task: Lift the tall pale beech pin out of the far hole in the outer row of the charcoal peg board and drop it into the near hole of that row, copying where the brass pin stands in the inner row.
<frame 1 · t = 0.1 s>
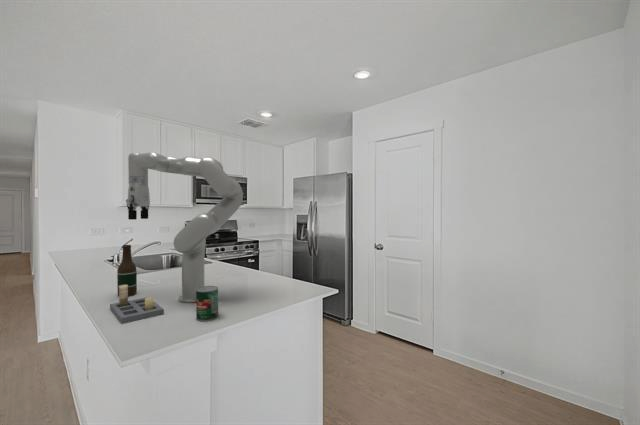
hand: (138, 219, 134), 37 cm above the table, tool pointing down, fingers open, 9 cm apart
peg board: (136, 311, 119), on the table
beech pin: (123, 309, 121), resting in peg board
canned tomato: (207, 317, 113), on the table
beer bottle: (127, 295, 142), on the table
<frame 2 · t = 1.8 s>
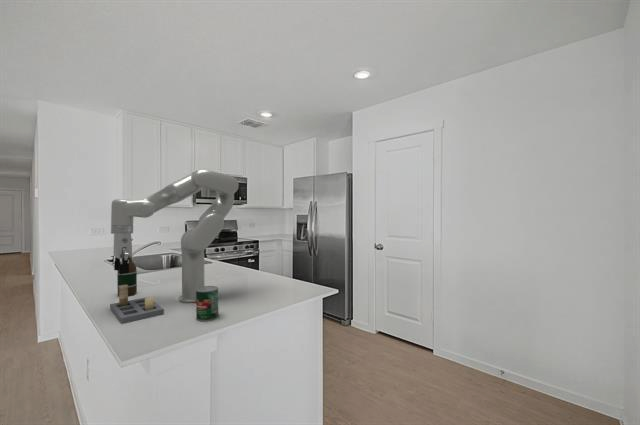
hand: (121, 271, 121), 16 cm above the table, tool pointing down, fingers open, 9 cm apart
nothing on the table moved.
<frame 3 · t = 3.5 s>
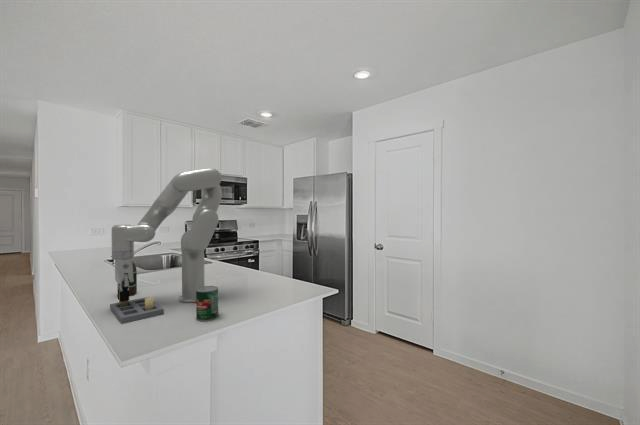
hand: (123, 299, 121), 4 cm above the table, tool pointing down, fingers closed on beech pin, 3 cm apart
beech pin: (123, 309, 121), resting in peg board, touching gripper
everything else where it was.
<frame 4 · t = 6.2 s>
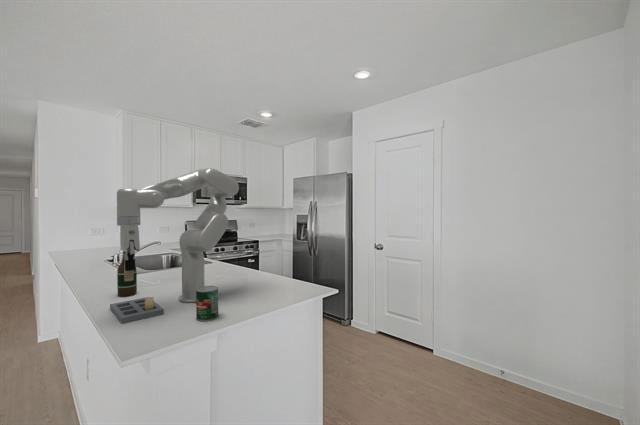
hand: (129, 269, 113), 18 cm above the table, tool pointing down, fingers closed on beech pin, 3 cm apart
beech pin: (128, 280, 113), point 14 cm above the table, touching gripper
everything else where it was.
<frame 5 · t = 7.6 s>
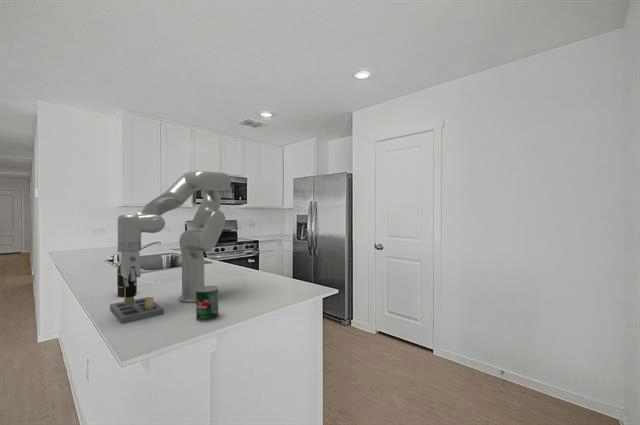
hand: (129, 295, 112), 9 cm above the table, tool pointing down, fingers closed on beech pin, 3 cm apart
beech pin: (129, 306, 112), point 4 cm above the table, touching gripper
everything else where it was.
when the fingers open (5 cm above the table, at t = 8.8 s): beech pin stays where it is, resting in peg board.
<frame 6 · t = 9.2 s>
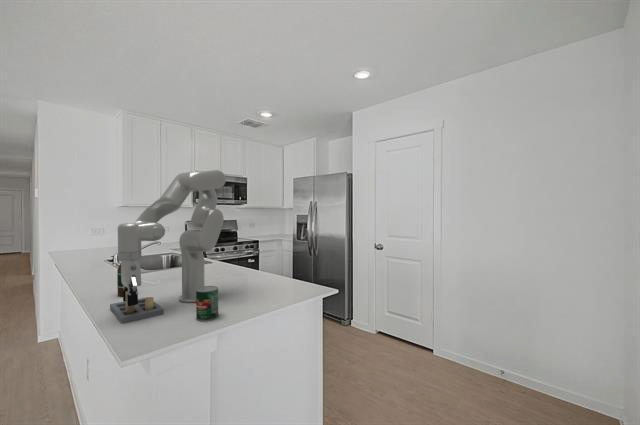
hand: (130, 302, 113), 6 cm above the table, tool pointing down, fingers open, 6 cm apart
beech pin: (130, 317, 113), resting in peg board
everything else where it was.
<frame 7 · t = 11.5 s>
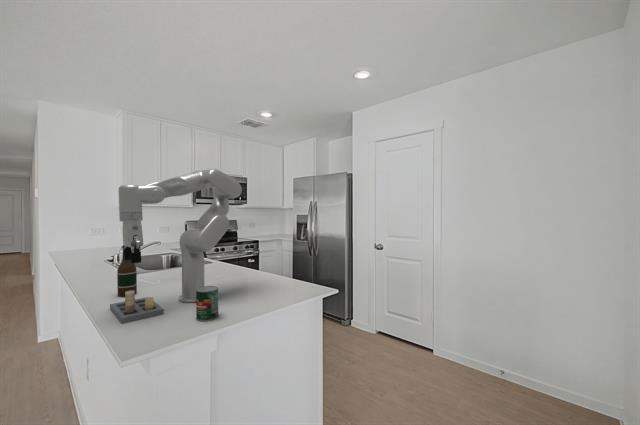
hand: (132, 261, 115), 21 cm above the table, tool pointing down, fingers open, 9 cm apart
nothing on the table moved.
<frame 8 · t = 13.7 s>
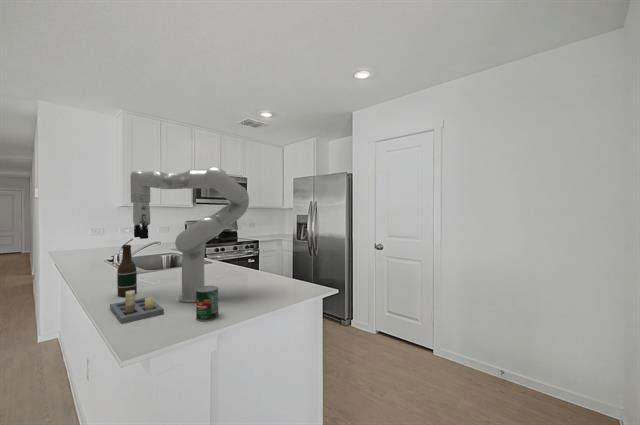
hand: (141, 237, 132), 28 cm above the table, tool pointing down, fingers open, 9 cm apart
nothing on the table moved.
at the end: beech pin 0.1 cm from the target spot, resting in peg board; beech pin tilted 0°; the gripper is holding nothing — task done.
